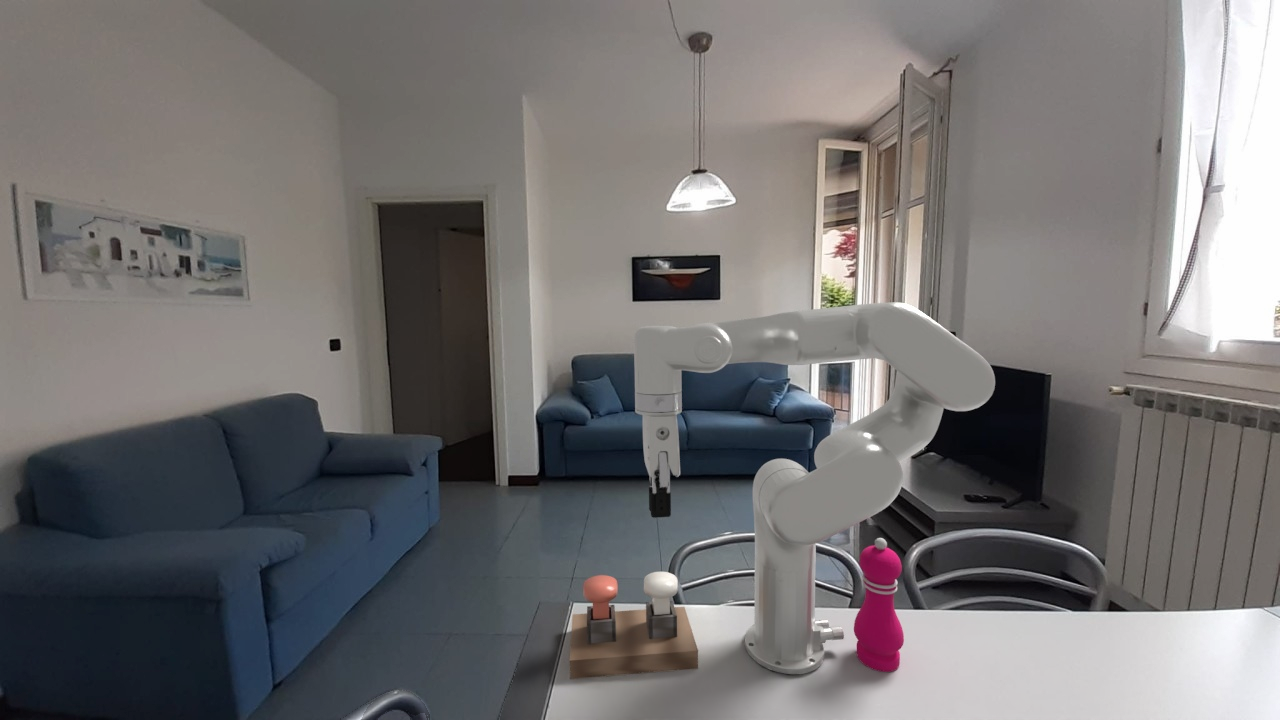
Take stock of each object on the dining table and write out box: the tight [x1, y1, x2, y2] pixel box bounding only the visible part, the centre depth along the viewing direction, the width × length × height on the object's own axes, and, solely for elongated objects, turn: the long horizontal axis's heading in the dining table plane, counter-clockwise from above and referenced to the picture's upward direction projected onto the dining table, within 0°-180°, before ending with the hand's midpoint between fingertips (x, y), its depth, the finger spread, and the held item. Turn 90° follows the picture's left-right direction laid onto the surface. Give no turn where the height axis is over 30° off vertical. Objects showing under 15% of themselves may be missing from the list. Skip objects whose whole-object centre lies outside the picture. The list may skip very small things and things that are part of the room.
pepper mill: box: [853, 537, 905, 673], centre depth 80 cm, size 7×7×20 cm
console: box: [568, 600, 699, 680], centre depth 84 cm, size 20×12×6 cm, turn 95°
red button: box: [582, 574, 619, 619], centre depth 83 cm, size 6×6×5 cm
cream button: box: [643, 571, 679, 615], centre depth 84 cm, size 6×6×5 cm
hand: (659, 512), depth 82 cm, fingers closed
